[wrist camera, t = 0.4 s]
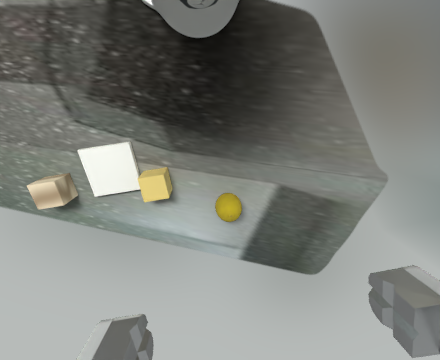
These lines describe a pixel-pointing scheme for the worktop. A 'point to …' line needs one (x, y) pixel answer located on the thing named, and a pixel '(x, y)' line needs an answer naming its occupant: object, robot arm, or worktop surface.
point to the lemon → (228, 207)
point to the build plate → (111, 168)
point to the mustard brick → (155, 184)
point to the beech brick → (53, 191)
